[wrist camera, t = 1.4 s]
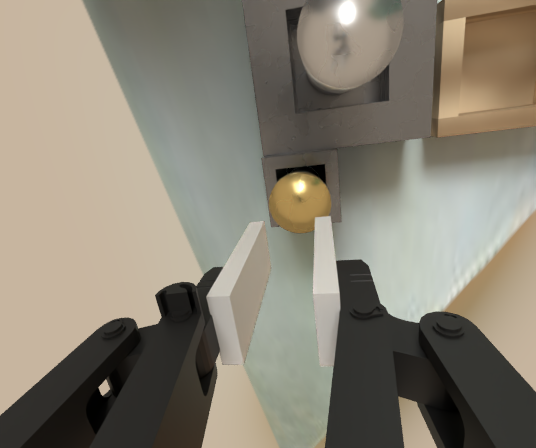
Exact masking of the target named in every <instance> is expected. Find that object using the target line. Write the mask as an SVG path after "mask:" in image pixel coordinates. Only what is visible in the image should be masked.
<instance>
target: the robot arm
mask: <svg viewBox="0 0 536 448" xmlns="http://www.w3.org/2000/svg"><path fill="white" fill-rule="evenodd" d="M270 272H271V262H270V255H269V249H268V242H267V235H266V228H265V222H264V221H259V222H250V223H249V225H248V226H247V228H246V230H245V231H244V233H243V235H242V237H241V238H240V240H239V242H238V243H237V245H236V247H235V248H234V250H233V252H232V254H231V255H230V257H229V259H228V260H227V262H226V264H225V266H224V267H213V268H212V269H211V270H209V271H208V272H207V273H205V274H204V276H203V277H202V279H201V280H200V282H199V283H198V285H197V286H195V285H194V284H193V283H189V282H180V283H175V284H172V285H169V286H167V287H165V288H163V289H162V290H160V291H159V292H158V293H157V294H156V295H155V296H156V300H157V303H158V306H159V310H160V313H161V316H162V318H161V319H160V321H159V323H158V324H156V325H152V326H147V327H143V328H139V329H138V327H137V324H136V322H135V320H134V319H131V318H119V319H115V320H112V321H110V322H108V323H106V324H104V325H103V326H102V327H100V328H99V329H97V330H96V331H95V332H94V333H93V334H92V335H91V336H89V337H88V338H87V339H86V340H85V341H84V342H83V343H82V344H80V345H79V346H78V347H77V348H76V349H75V350H74V351H72V352H71V353H70V354H69V355H68V356H67V357H66V358H65V359H64V360H62V361H61V362H60V363H59V364H58V365H57V366H56V367H54V368H53V369H52V370H51V371H50V372H49V373H48V374H47V375H45V376H44V377H43V378H42V379H41V380H40V381H39V382H38V383H36V384H35V385H34V386H33V387H32V388H31V389H30V390H29V391H27V392H26V393H25V394H24V395H23V396H22V397H21V398H20V399H18V400H17V401H16V402H15V403H14V404H13V405H12V406H11V407H9V408H8V410H6V411H5V412H4V413H3V414H1V416H0V448H201V447H202V442H203V438H204V434H205V429H206V424H207V420H208V416H209V411H210V407H211V401H212V397H213V393H214V388H215V384H216V379H217V367H216V363H215V362H216V359H217V357H218V354H219V352H220V356H221V360H222V364H223V365H244V363H245V359H246V356H247V352H248V349H249V345H250V342H251V338H252V335H253V331H254V328H255V324H256V321H257V317H258V314H259V310H260V307H261V303H262V300H263V296H264V293H265V289H266V286H267V282H268V279H269V275H270ZM313 301H314V311H315V321H316V331H317V342H318V352H319V362H320V366H334V369H333V378H332V388H331V397H330V406H329V415H328V425H327V434H326V443H325V448H404V442H403V434H402V425H401V417H400V409H399V400H398V396H400V397H403V398H406V399H409V400H412V401H416V402H417V404H418V407H419V409H420V411H421V413H422V416H423V418H424V420H425V422H426V424H427V426H428V428H429V430H430V433H431V435H432V437H433V439H434V441H435V444H436V446H437V448H536V392H535V391H534V390H533V389H532V387H531V386H530V385H529V384H528V383H527V382H526V381H525V380H524V378H523V377H521V375H520V374H519V373H518V372H517V371H516V370H515V368H513V366H512V365H511V364H510V363H509V362H508V361H507V360H506V359H505V357H504V356H503V355H502V354H501V353H500V352H499V351H498V350H497V349H496V348H495V346H494V345H493V344H492V343H491V342H490V341H489V340H488V339H487V338H486V337H485V335H484V334H483V333H482V332H481V331H480V330H479V329H478V328H477V326H475V325H474V324H473V323H472V322H471V321H469V320H468V319H466V318H464V317H462V316H460V315H457V314H453V313H448V312H432V313H428V314H426V315H424V316H423V317H421V320H420V322H419V323H414V322H409V321H405V320H401V319H398V318H396V317H393V316H391V315H390V314H388V312H387V310H386V308H385V307H384V306H383V305H382V304H380V301H379V298H378V295H377V291H376V288H375V285H374V282H373V279H372V276H371V272H370V269H369V266H368V265H367V264H366V263H364V262H363V261H362V260H342V261H336V258H335V249H334V241H333V232H332V223H331V216H325V217H315V233H314V269H313ZM105 379H106V380H107V382H108V385H109V387H110V390H109V391H108V392H107V393H106V394H105V395H104V396H102V395H101V393H100V391H99V388H98V387H99V386H100V385H101V384H102V383H103V382H104V380H105Z"/></svg>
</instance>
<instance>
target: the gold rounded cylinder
mask: <svg viewBox="0 0 536 448" xmlns="http://www.w3.org/2000/svg"><path fill="white" fill-rule="evenodd" d="M269 209H270V212H271V215H272V217H273V219H274V220H275V221H276V223H277V224H278V225H279V226H281V227H282V228H284V229H285V230H287V231H290V232H294V233H307V232H311V231H313V230H315V217H325V216H329V213H330V210H331V197H330V193H329V190H328V188H327V186H326V184H325V183H324V182H323V181H322V180H321V179H320V177H319V175H318V173H317V172H316V171H315V170H314V169H313V168H311V167H308V166H302V167H297V168H295V169H294V170H293V171H292V172H291V173H290V174H287V175H285V176H284V177H282V178H281V179H280V180H279V181H278V182H277V183H276V184H275V186H274V188H273V190H272V192H271V194H270V198H269Z"/></svg>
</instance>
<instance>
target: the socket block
mask: <svg viewBox="0 0 536 448" xmlns="http://www.w3.org/2000/svg"><path fill="white" fill-rule="evenodd" d="M400 1H401V4H402V9H403V20H404V23H403V32H402V37H401V40H400V44H399V46H398V49H397V51H396V53H395V55H394V57H393V58H392V60H391V61H390V63H389V64H388V65H387V67H386V68H385V69H384V70H383V71H382V72H381V73H380V74H378V75H377V76H376V77H375V78H373V79H372V80H370V81H368V82H366V83H364V84H362V85H360V86H358V87H356V88H354V89H352V90H350V91H348V92H346V93H343V94H340V95H326V94H323V93H321V92H319V91H318V90H317V89H315V88H314V87H313V85H312V84H311V82H310V81H309V79H308V76H307V73H306V70H305V68H304V65H303V62H302V59H301V56H300V53H299V49H298V43H297V27H298V21H299V17H300V14H301V11H302V8H303V6H304V4H305V2H306V0H242V4H243V11H244V18H245V26H246V33H247V40H248V47H249V54H250V62H251V69H252V76H253V83H254V91H255V98H256V105H257V112H258V120H259V127H260V134H261V141H262V148H263V156H264V157H263V158H262V165H263V172H264V179H265V186H266V193H267V200H268V208H269V198H270V194H271V192H272V190H273V188H274V186H275V184H276V183H277V182H278V181H279V180H280V179H281V178H282V177H284V176H285V175H287V168H292V167H302V166H311V165H320V164H324V166H325V180H326V186H327V188H328V190H329V193H330V197H331V210H330V213H329V216H331V223H335V222H341V208H340V190H339V172H338V154H337V148H341V147H349V146H358V145H367V144H375V143H384V142H392V141H401V140H409V139H418V138H426V137H431V120H432V99H433V78H434V57H435V36H436V14H437V0H400ZM269 215H270V222H271V227H279V225H278V224H277V223H276V221H275V220H274V219H273V217H272V215H271V212H270V209H269Z"/></svg>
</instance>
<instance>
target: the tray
mask: <svg viewBox="0 0 536 448" xmlns="http://www.w3.org/2000/svg"><path fill="white" fill-rule="evenodd" d="M532 126H536V0H442V1H441V2H439V3H438V4H437V14H436V36H435V57H434V78H433V99H432V120H431V136H434V137H446V136H455V135H463V134H472V133H480V132H489V131H498V130H506V129H515V128H523V127H532Z"/></svg>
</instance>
